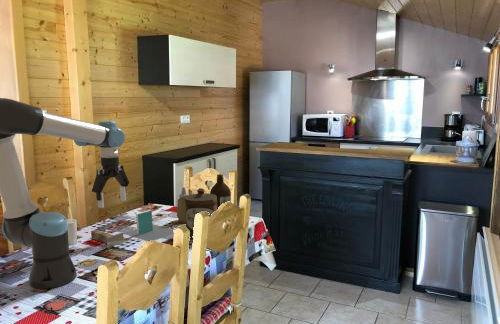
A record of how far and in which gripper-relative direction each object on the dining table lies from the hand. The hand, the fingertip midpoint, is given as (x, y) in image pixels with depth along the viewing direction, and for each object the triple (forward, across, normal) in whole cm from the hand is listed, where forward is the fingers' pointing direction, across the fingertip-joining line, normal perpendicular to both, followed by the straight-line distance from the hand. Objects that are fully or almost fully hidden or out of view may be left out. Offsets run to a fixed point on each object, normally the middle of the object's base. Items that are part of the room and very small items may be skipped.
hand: (112, 203), depth 186 cm
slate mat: (+17, +15, -8) cm, 24 cm away
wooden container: (+17, +24, -32) cm, 43 cm away
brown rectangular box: (+17, -3, +3) cm, 18 cm away
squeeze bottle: (+17, +38, -12) cm, 43 cm away
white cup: (+17, -10, +17) cm, 27 cm away
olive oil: (+17, +43, -30) cm, 56 cm away
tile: (+16, +14, -6) cm, 22 cm away
